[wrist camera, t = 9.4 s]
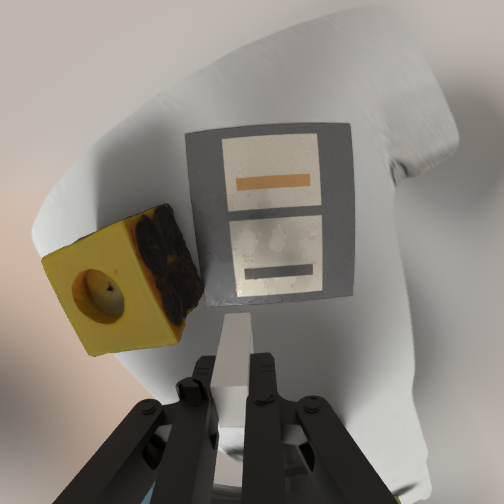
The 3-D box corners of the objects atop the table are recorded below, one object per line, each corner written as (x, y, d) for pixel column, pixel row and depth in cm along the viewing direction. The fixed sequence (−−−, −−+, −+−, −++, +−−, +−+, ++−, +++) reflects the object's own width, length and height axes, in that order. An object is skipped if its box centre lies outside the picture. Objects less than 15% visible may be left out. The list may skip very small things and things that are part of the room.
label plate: (352, 295, 29) (352, 295, 29) (206, 306, 30) (206, 306, 30) (349, 124, 24) (350, 124, 24) (185, 134, 25) (185, 134, 25)
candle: (206, 291, 29) (183, 346, 20) (130, 311, 30) (90, 361, 21) (171, 199, 26) (126, 216, 17) (94, 231, 28) (37, 259, 18)
